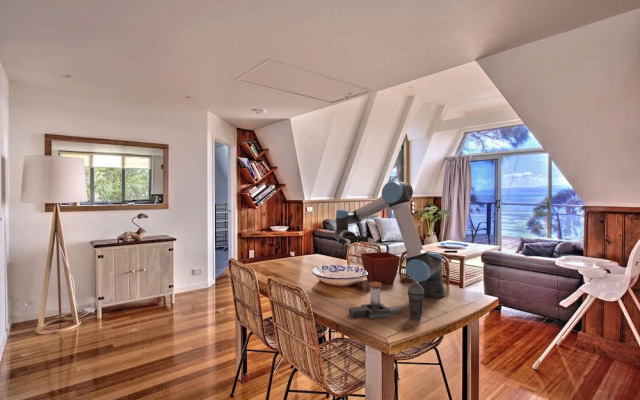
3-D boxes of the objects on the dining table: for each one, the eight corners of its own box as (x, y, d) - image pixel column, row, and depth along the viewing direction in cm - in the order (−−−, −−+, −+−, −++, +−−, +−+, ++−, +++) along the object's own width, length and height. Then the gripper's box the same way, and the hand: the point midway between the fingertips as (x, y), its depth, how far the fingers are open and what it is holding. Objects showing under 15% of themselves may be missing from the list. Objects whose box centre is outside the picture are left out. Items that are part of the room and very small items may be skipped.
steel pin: (382, 312, 157) (382, 282, 157) (379, 316, 152) (379, 285, 152) (371, 310, 159) (371, 281, 159) (367, 314, 154) (367, 284, 154)
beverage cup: (414, 322, 145) (414, 276, 145) (403, 316, 152) (404, 272, 152) (427, 319, 148) (428, 274, 148) (416, 314, 155) (417, 271, 154)
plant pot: (360, 278, 219) (360, 253, 218) (387, 276, 223) (387, 251, 223) (371, 286, 200) (371, 258, 200) (400, 284, 205) (400, 257, 204)
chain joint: (393, 307, 164) (393, 301, 164) (403, 314, 154) (403, 308, 154) (347, 312, 157) (347, 306, 157) (355, 320, 148) (355, 313, 148)
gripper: (367, 242, 200) (383, 248, 179) (327, 244, 193) (339, 250, 173) (367, 230, 200) (383, 234, 179) (327, 231, 193) (339, 236, 172)
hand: (361, 242), depth 176 cm, fingers open, 13 cm apart
